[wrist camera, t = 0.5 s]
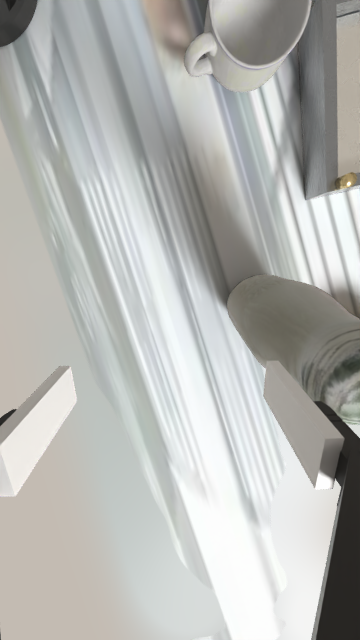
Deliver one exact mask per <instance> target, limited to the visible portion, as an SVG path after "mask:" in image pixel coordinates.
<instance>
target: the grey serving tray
mask: <svg viewBox="0 0 360 640" xmlns="http://www.w3.org/2000/svg"><path fill="white" fill-rule="evenodd" d="M298 52H299V73H300V94H301V116H302V137H303V158H304V180H305V200H309V199H314V198H318V197H323V196H327V195H332V194H336V193H341V192H345V191H350V190H354V189H359V188H360V0H316V2H315V3H314V5H313V7H312V9H311V11H310V14H309V18H308V21H307V24H306V26H305V29H304V31H303V33H302V35H301V37H300V39H299V41H298Z"/></svg>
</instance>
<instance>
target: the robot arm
mask: <svg viewBox="0 0 360 640" xmlns="http://www.w3.org/2000/svg"><path fill="white" fill-rule="evenodd" d="M36 4H37V0H0V47H2V46H5V45H7V44H10V43H11V42H13V41H14V40H16V39H17V38H18V37H19V36H20V35H21V34H22V33H23V32H24V31H25V30H26V28H27V27H28V25H29V23H30V21H31V19H32V17H33V14H34V12H35V8H36ZM263 396H264V398H265V400H266V402H267V404H268V405H269V407H270V409H271V411H272V413H273V414H274V416H275V418H276V420H277V421H278V423H279V425H280V427H281V429H282V430H283V432H284V434H285V436H286V438H287V439H288V441H289V443H290V445H291V447H292V448H293V450H294V452H295V454H296V456H297V457H298V459H299V461H300V463H301V465H302V466H303V468H304V470H305V472H306V473H307V475H308V477H309V479H310V481H311V483H312V484H313V486H314V488H315V489H333V485H334V481H335V479H336V480H337V482H338V483H339V484H340V486H341V491H340V495H339V500H338V503H337V511H336V516H335V521H334V526H333V532H332V537H331V541H330V547H329V552H328V557H327V562H326V567H325V573H324V577H323V582H322V587H321V593H320V598H319V604H318V608H317V613H316V618H315V624H314V628H313V633H312V638H311V640H360V438H359V437H358V436H357V435H356V434H355V433H354V432H353V431H352V430H351V429H350V428H349V427H348V425H347V424H346V423H345V422H343V420H342V419H341V418H340V417H339V416H337V414H336V412H335V411H334V410H333V409H332V408H331V407H330V406H328V405H326V404H325V403H323V402H322V401H312V400H311V398H310V397H309V396H308V395H307V394H306V393H305V391H304V390H303V389H302V388H301V387H300V386H299V384H298V383H297V382H296V381H295V380H294V379H293V377H292V376H291V375H290V374H289V373H288V372H287V370H286V369H285V368H284V367H283V366H282V364H281V363H280V362H279V361H267V363H266V374H265V385H264V395H263ZM76 402H77V397H76V392H75V387H74V381H73V376H72V371H71V366H59V367H58V368H57V369H56V370H55V371H54V372H53V373H52V374H51V375H50V376H49V377H48V378H47V379H46V380H45V381H44V382H43V384H42V385H41V386H40V387H39V388H38V389H37V390H36V391H35V392H34V393H33V394H32V395H31V396H30V397H29V398H28V399H27V400H26V401H25V402H24V403H23V404H22V405H21V406H20V407H19V408H18V409H15V410H14V409H13V410H11V411H10V412H8V413H6V414H5V415H3V416H2V417H1V418H0V497H9V496H16V495H17V493H18V491H19V490H20V488H21V487H22V485H23V484H24V482H25V480H26V479H27V478H28V476H29V474H30V473H31V471H32V470H33V468H34V467H35V465H36V463H37V462H38V461H39V459H40V458H41V456H42V454H43V453H44V451H45V450H46V448H47V447H48V445H49V444H50V442H51V440H52V439H53V437H54V436H55V434H56V433H57V431H58V430H59V428H60V427H61V425H62V423H63V422H64V421H65V419H66V417H67V416H68V414H69V413H70V411H71V410H72V408H73V407H74V405H75V403H76ZM0 640H1V634H0Z"/></svg>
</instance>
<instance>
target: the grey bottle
mask: <svg viewBox="0 0 360 640" xmlns="http://www.w3.org/2000/svg"><path fill="white" fill-rule="evenodd" d="M227 310H228V315H229V317H230V319H231V321H232V323H233V325H234V326H235V328H236V330H237V331H238V333H239V334H240V336H241V337H242V339H243V340H244V342H245V343H246V345H247V346H248V348H249V349H250V351H251V352H252V354H253V355H254V356H255V358H256V359H257V360H258V362H259V363H260V364H261V365H262V366H263V367H264V368H266V363H267V361H279V362H280V363H281V364H282V366H283V367H284V368H285V369H286V370H287V372H288V373H289V374H290V375H291V376H292V377H293V379H294V380H295V381H296V382H297V383H298V384H299V386H300V387H301V388H302V389H303V390H304V391H305V393H306V394H307V395H308V396H309V397H310V398H311V400H312V401H322V402H323V403H325V404H326V405H328V406H330V407H331V408H332V409H333V410H334V411H335V412H336V414H337V416H339V417H340V418H341V419H342V420H343V422H345V423H347V424H352V425H360V319H359V318H358V317H356V316H354V315H352V314H351V313H349V312H348V311H347V310H346V309H345V308H344V307H343V306H342V305H341V304H340V303H338V302H337V301H336V300H335V299H334V298H333V297H331V296H330V295H329V294H328V293H326V292H325V291H323V290H321V289H319V288H317V287H314V286H312V285H309V284H306V283H302V282H298V281H294V280H289V279H284V278H281V277H278V276H274V275H256V276H252V277H250V278H247V279H245V280H243V281H242V282H240V283H239V284H238V285H237V286H236V287H235V288H234V289H233V290H232V292H231V294H230V296H229V298H228V302H227Z"/></svg>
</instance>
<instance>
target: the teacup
mask: <svg viewBox="0 0 360 640" xmlns="http://www.w3.org/2000/svg"><path fill="white" fill-rule="evenodd" d="M311 1H312V0H208V4H207V11H206V18H205V28H204V33H203V34H200V35H199V36H197V37H196V38H195V39H194V40H193V41H192V42H191V44H190V45H189V46H188V48H187V50H186V52H185V56H184V65H185V68H186V70H187V72H188V73H189V75H190V76H192V77H198V76H202V75H205V74H207V75H210V74H213V75H214V77H215V78H216V79H217V81H218V82H219V83H220V84H221V85H222V86H224V87H225V88H227V89H228V90H231V91H234V92H249V91H252V90H255V89H257V88H258V87H260V86H262V85H263V84H264V83H266V82H267V81H268V80H269V79H270V78H271V77H272V76H273V74H274V73H275V72H276V71H277V69H278V68H279V67H280V65H281V64H282V63H283V61H284V60H285V58H286V57H287V55H288V54H289V53H290V52H291V51H292V49H293V48H294V47H295V45H296V44H297V42H298V41H299V39H300V37H301V35H302V33H303V31H304V29H305V26H306V24H307V21H308V18H309V14H310V9H311ZM205 53H206V57H205V58H202V59H199V58H200V57H201V56H202V55H203V54H205ZM198 59H199V60H198Z"/></svg>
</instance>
